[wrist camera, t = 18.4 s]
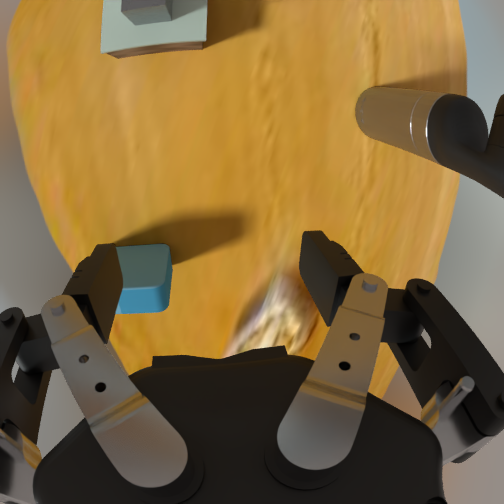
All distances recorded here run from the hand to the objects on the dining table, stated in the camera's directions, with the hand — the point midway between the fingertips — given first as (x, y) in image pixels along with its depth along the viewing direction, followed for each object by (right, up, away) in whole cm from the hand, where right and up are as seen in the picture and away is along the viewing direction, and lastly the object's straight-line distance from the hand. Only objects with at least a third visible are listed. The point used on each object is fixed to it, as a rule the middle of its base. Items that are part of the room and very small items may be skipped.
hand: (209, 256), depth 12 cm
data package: (-17, -1, +35) cm, 39 cm away
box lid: (-10, +30, +12) cm, 34 cm away
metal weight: (-10, +29, +11) cm, 32 cm away
